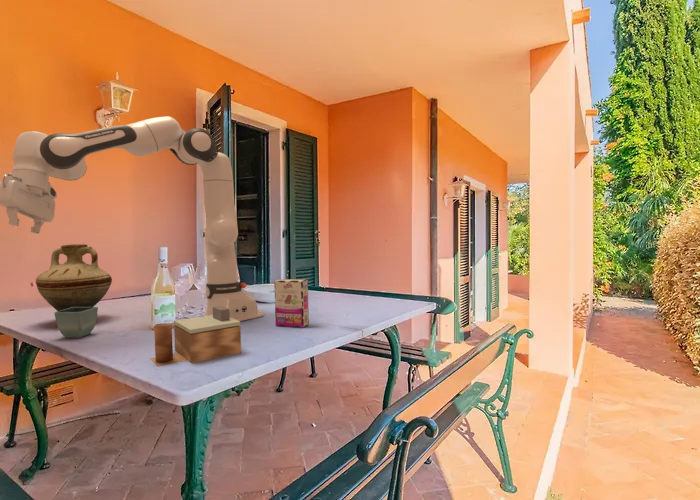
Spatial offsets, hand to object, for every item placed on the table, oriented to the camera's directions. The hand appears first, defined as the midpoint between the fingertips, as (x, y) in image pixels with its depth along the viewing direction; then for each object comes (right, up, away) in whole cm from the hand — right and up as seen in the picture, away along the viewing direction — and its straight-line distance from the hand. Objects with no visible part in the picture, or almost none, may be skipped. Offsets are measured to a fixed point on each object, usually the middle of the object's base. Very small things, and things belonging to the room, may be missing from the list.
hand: (24, 229), depth 115 cm
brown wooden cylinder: (+48, -34, -15) cm, 61 cm away
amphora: (-10, -34, +36) cm, 51 cm away
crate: (+54, -35, -10) cm, 65 cm away
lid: (+56, -26, -8) cm, 63 cm away
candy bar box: (+74, -33, +25) cm, 85 cm away
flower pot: (+5, -35, +15) cm, 38 cm away
